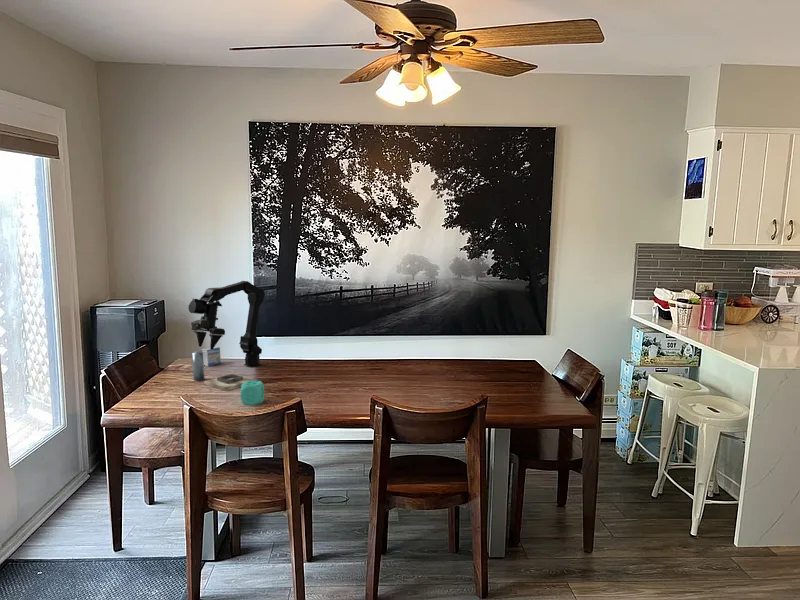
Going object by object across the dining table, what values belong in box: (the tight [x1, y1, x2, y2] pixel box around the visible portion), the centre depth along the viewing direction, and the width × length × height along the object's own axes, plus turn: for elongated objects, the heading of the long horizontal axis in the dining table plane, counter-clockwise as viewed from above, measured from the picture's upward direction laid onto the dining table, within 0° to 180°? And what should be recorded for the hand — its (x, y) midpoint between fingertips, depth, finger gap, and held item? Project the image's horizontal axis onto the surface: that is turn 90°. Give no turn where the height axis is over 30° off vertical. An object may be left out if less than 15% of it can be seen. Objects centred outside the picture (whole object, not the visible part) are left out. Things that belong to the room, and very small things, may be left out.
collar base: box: [203, 373, 256, 392], centre depth 270 cm, size 16×16×3 cm
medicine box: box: [201, 346, 222, 367], centre depth 304 cm, size 8×4×9 cm, turn 143°
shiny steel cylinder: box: [191, 350, 205, 382], centre depth 276 cm, size 5×5×13 cm
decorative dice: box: [240, 380, 265, 406], centre depth 243 cm, size 8×8×8 cm
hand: (205, 347), depth 280 cm, fingers open, 9 cm apart
